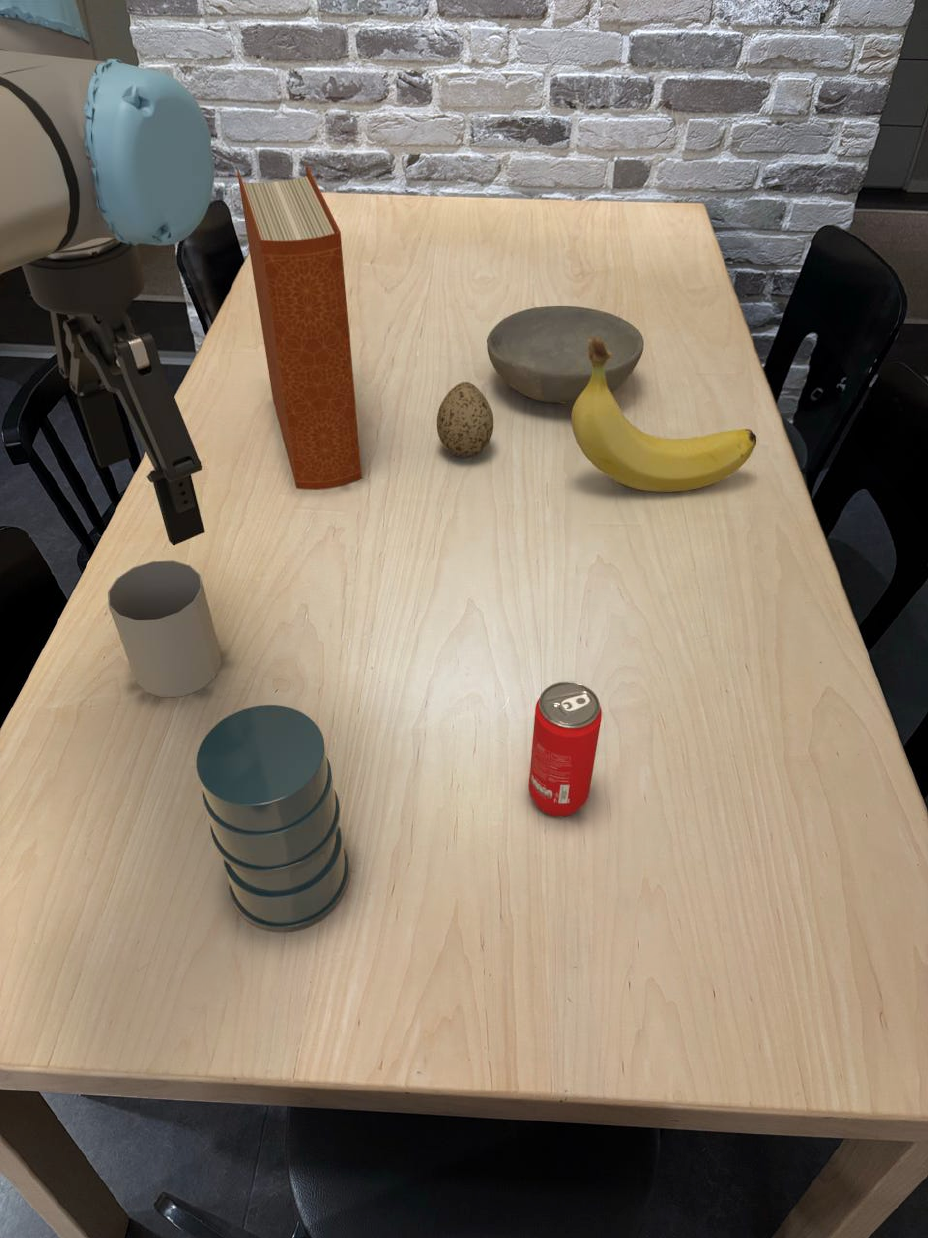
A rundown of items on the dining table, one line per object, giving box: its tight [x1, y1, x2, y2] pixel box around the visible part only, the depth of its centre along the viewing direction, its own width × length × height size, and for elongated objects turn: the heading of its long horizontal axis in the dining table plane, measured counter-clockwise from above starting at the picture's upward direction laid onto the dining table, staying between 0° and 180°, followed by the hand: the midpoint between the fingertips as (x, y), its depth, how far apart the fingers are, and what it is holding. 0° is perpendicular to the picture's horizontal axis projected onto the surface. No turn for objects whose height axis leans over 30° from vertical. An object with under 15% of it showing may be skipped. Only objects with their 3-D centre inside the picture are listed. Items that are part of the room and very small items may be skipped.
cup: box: [107, 559, 223, 698], centre depth 86 cm, size 8×8×10 cm
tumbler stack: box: [195, 704, 350, 933], centre depth 67 cm, size 9×9×16 cm
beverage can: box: [528, 681, 603, 818], centre depth 75 cm, size 5×5×12 cm
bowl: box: [486, 305, 644, 404], centre depth 127 cm, size 21×21×8 cm
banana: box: [571, 337, 757, 493], centre depth 105 cm, size 23×6×20 cm, turn 96°
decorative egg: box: [436, 381, 494, 458], centre depth 114 cm, size 7×7×10 cm
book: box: [236, 164, 363, 490], centre depth 109 cm, size 23×8×30 cm, turn 16°
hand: (149, 497), depth 76 cm, fingers open, 13 cm apart
